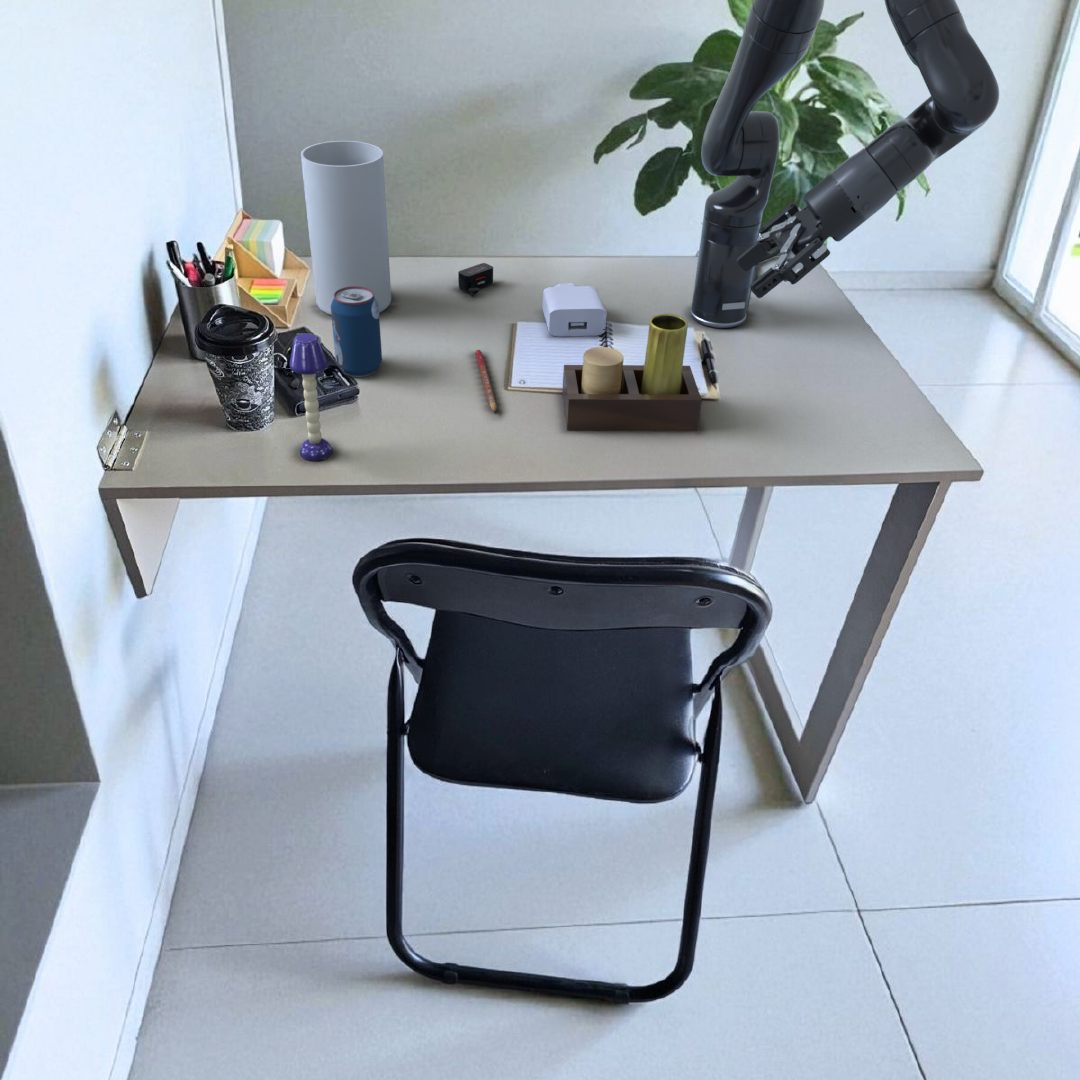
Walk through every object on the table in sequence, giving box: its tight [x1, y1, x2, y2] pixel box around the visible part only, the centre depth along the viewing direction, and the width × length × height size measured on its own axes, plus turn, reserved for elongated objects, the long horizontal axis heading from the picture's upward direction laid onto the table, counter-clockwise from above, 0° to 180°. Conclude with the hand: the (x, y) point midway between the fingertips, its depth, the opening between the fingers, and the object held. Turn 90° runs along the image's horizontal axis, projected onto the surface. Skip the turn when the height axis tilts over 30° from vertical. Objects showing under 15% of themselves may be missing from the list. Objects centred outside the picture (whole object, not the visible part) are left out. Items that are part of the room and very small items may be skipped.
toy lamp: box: [289, 333, 333, 462], centre depth 135 cm, size 5×5×17 cm
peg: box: [581, 346, 625, 394], centre depth 148 cm, size 6×6×9 cm
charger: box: [542, 282, 608, 337], centre depth 174 cm, size 5×9×15 cm
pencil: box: [474, 349, 498, 415], centre depth 155 cm, size 19×1×1 cm, turn 10°
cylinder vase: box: [300, 140, 392, 316], centre depth 168 cm, size 12×12×25 cm
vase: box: [640, 313, 689, 394], centre depth 147 cm, size 6×6×14 cm
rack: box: [561, 364, 703, 432], centre depth 149 cm, size 10×18×5 cm, turn 93°
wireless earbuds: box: [457, 262, 494, 297], centre depth 181 cm, size 5×7×3 cm, turn 134°
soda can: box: [330, 286, 383, 378], centre depth 155 cm, size 7×7×12 cm
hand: (747, 279), depth 139 cm, fingers open, 8 cm apart
